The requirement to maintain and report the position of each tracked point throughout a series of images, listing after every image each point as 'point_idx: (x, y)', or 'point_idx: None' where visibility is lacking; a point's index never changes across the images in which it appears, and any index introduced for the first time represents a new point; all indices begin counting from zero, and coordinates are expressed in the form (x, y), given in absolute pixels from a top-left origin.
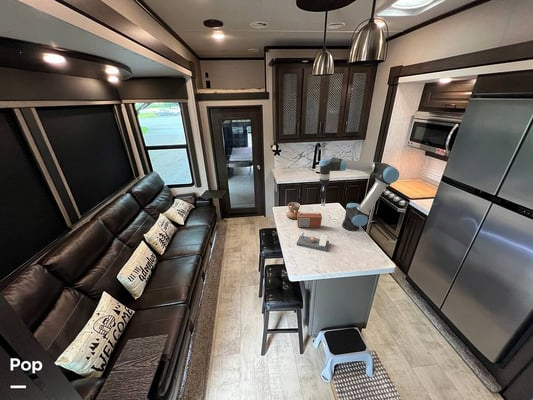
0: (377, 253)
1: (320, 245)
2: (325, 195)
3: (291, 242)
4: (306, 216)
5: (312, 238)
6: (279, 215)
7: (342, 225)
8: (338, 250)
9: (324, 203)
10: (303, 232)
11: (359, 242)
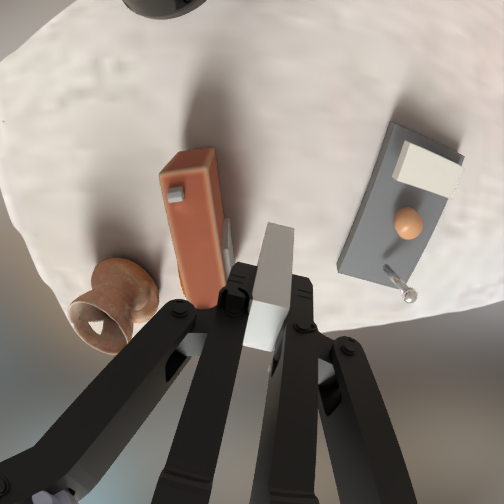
0: None
1: (453, 189)
2: (189, 323)
3: (374, 300)
4: (221, 278)
5: (413, 230)
6: None
7: (174, 15)
8: (447, 89)
9: (292, 256)
10: (410, 296)
11: None
